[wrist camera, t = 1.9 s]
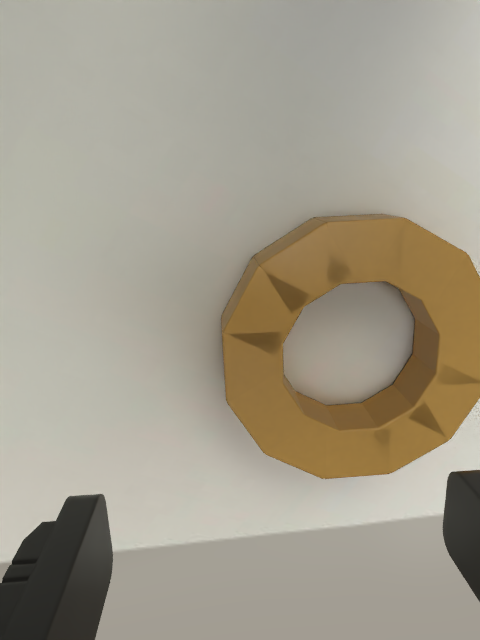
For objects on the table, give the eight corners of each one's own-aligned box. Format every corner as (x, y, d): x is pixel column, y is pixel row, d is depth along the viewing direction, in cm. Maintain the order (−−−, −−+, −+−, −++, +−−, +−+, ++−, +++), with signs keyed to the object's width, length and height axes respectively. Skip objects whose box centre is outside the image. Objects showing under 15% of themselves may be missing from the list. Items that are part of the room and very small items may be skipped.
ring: (215, 222, 19) (215, 227, 17) (476, 208, 20) (511, 212, 17) (229, 455, 22) (231, 486, 20) (453, 439, 23) (480, 468, 20)
